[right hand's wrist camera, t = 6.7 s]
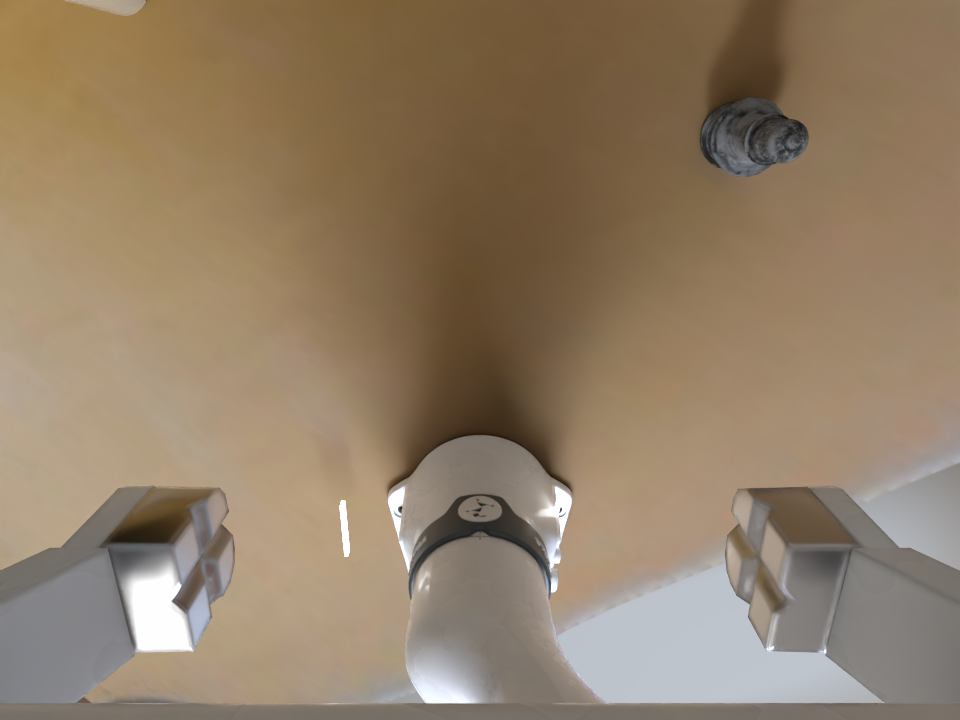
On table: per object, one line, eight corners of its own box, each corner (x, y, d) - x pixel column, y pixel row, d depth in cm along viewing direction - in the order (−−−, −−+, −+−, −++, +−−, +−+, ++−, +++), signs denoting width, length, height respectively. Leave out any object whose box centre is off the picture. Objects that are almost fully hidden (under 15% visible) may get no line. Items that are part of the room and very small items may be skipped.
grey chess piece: (682, 144, 54) (735, 152, 42) (731, 82, 52) (800, 74, 41) (732, 187, 55) (797, 206, 44) (782, 128, 53) (863, 132, 42)
